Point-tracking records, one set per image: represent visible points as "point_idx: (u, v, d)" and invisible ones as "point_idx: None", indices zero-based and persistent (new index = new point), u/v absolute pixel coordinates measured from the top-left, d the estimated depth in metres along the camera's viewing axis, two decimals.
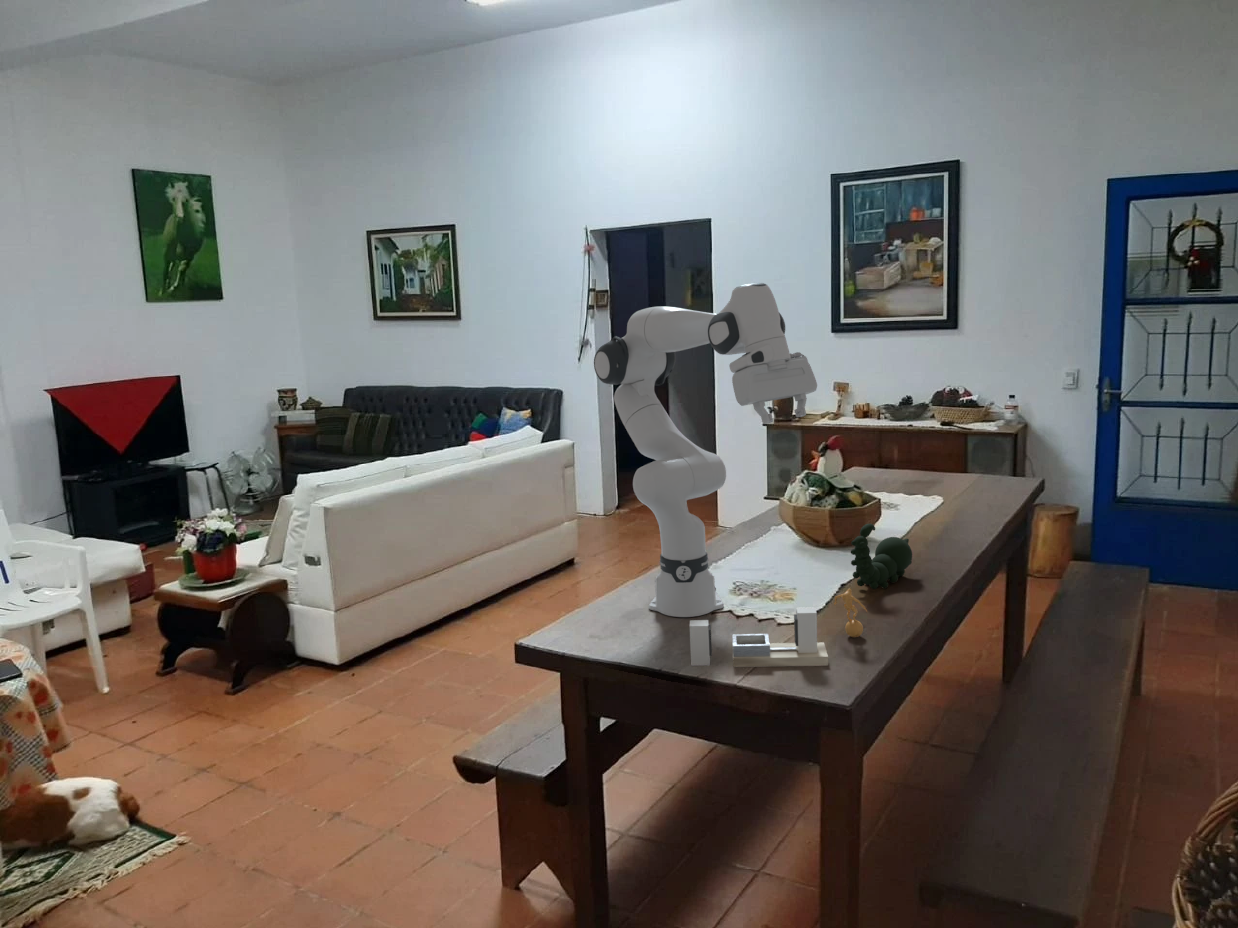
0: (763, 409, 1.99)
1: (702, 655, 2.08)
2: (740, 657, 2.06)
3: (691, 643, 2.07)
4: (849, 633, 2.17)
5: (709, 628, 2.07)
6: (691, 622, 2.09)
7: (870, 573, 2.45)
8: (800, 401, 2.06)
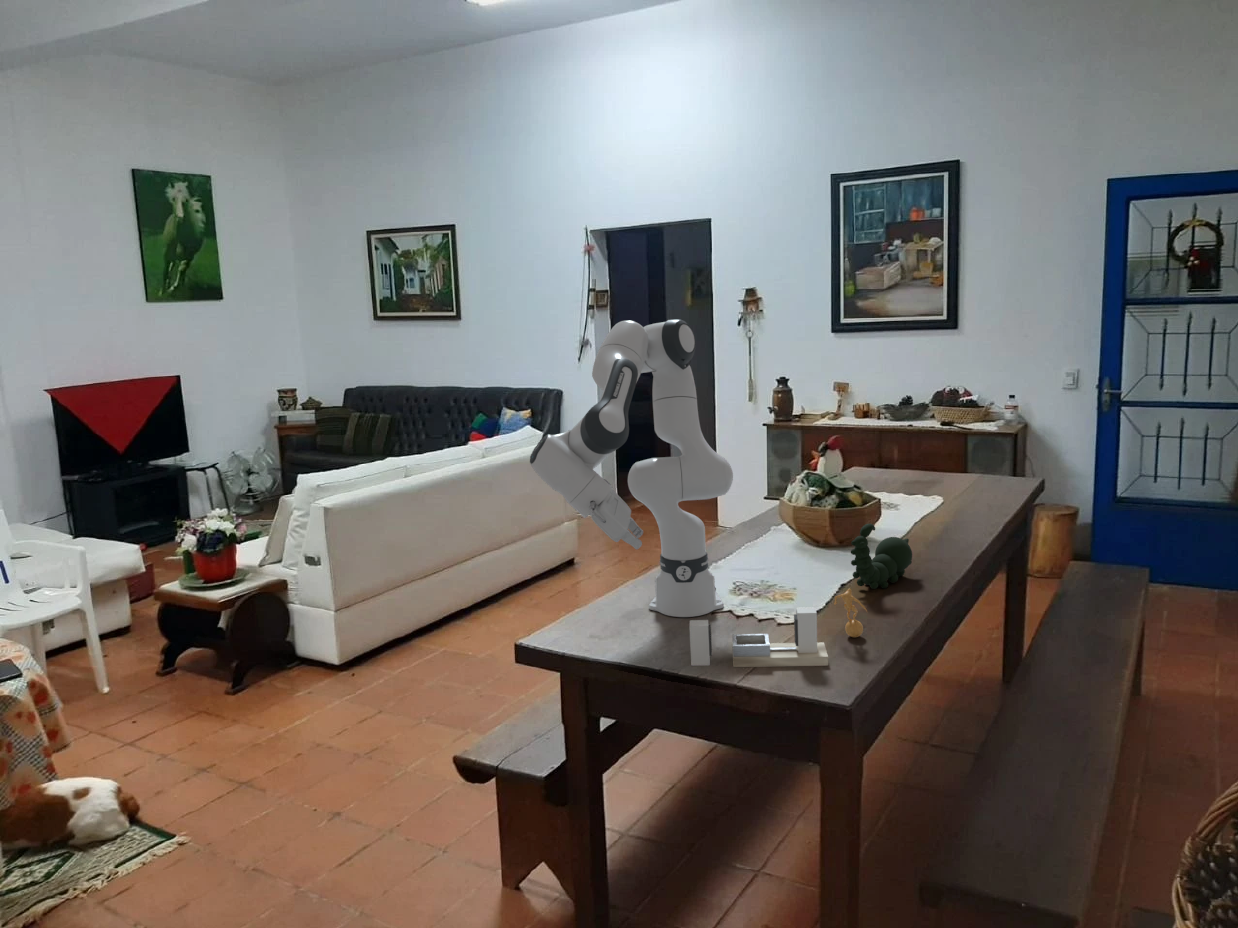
0: None
1: (702, 655, 2.08)
2: (740, 657, 2.06)
3: (691, 643, 2.07)
4: (849, 633, 2.17)
5: (709, 628, 2.07)
6: (691, 622, 2.09)
7: (870, 573, 2.45)
8: None
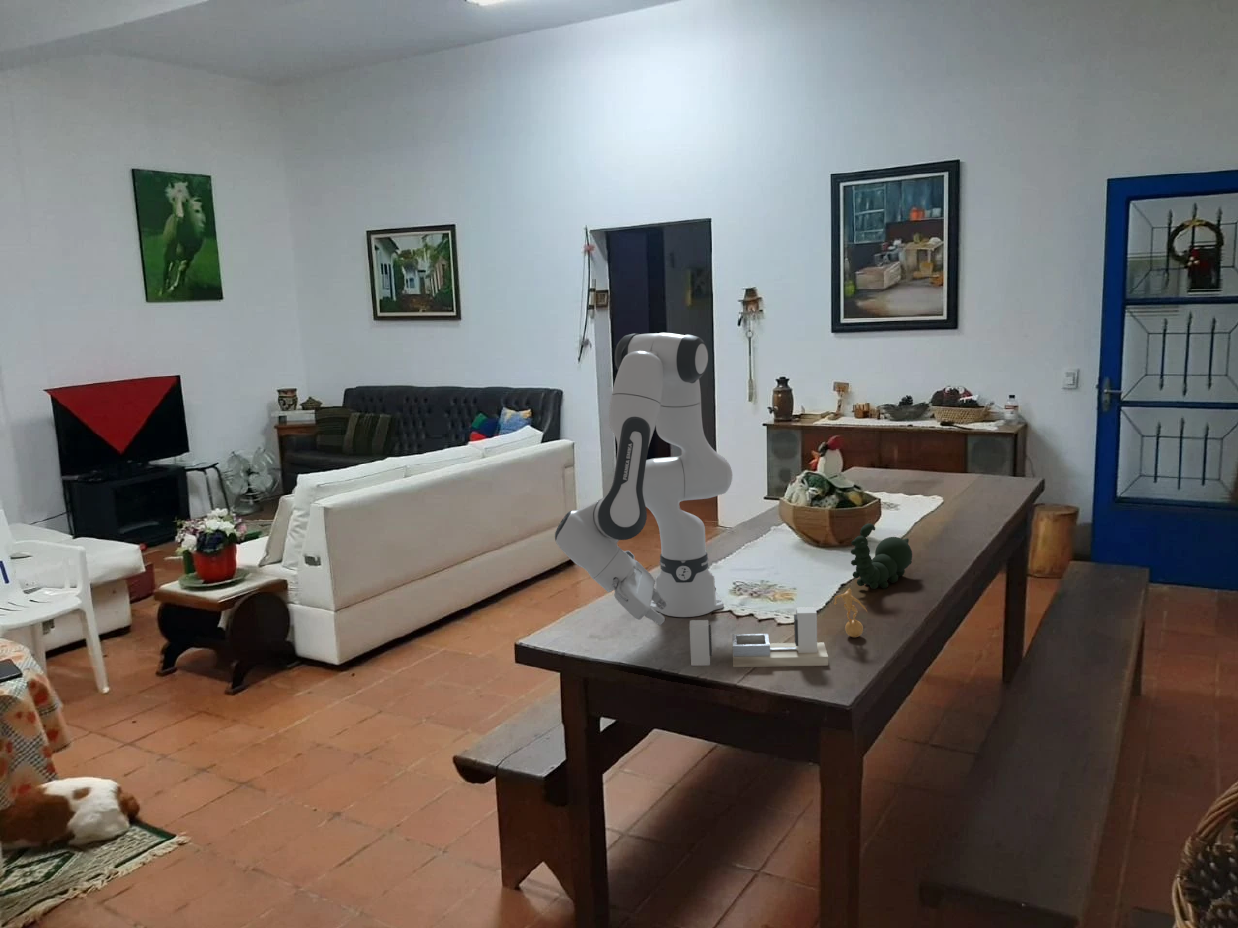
0: None
1: (702, 655, 2.08)
2: (740, 657, 2.06)
3: (691, 643, 2.07)
4: (849, 633, 2.17)
5: (709, 628, 2.07)
6: (691, 622, 2.09)
7: (870, 573, 2.45)
8: None
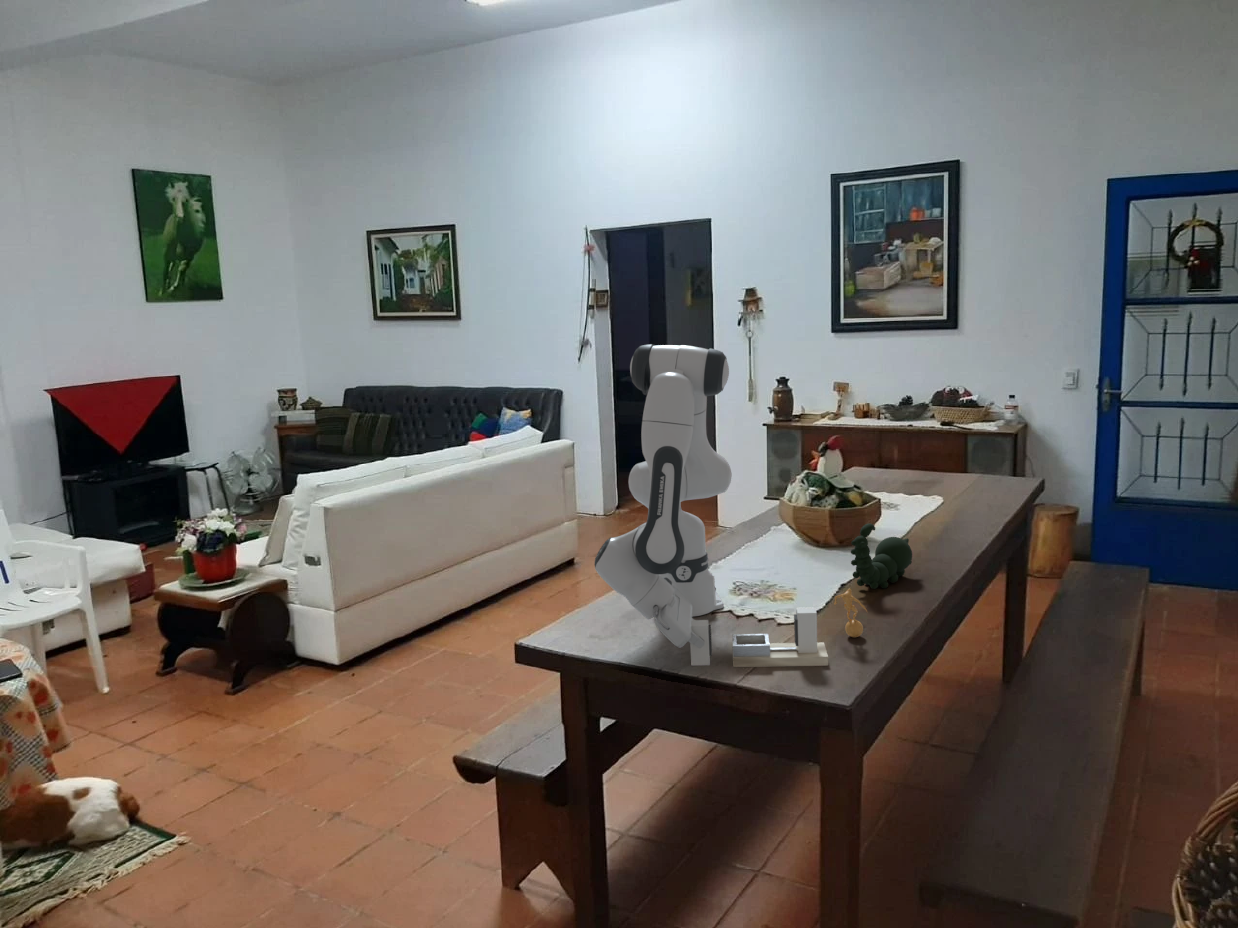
0: None
1: (702, 655, 2.08)
2: (740, 657, 2.06)
3: (691, 643, 2.07)
4: (849, 633, 2.17)
5: (709, 628, 2.07)
6: None
7: (870, 573, 2.45)
8: None
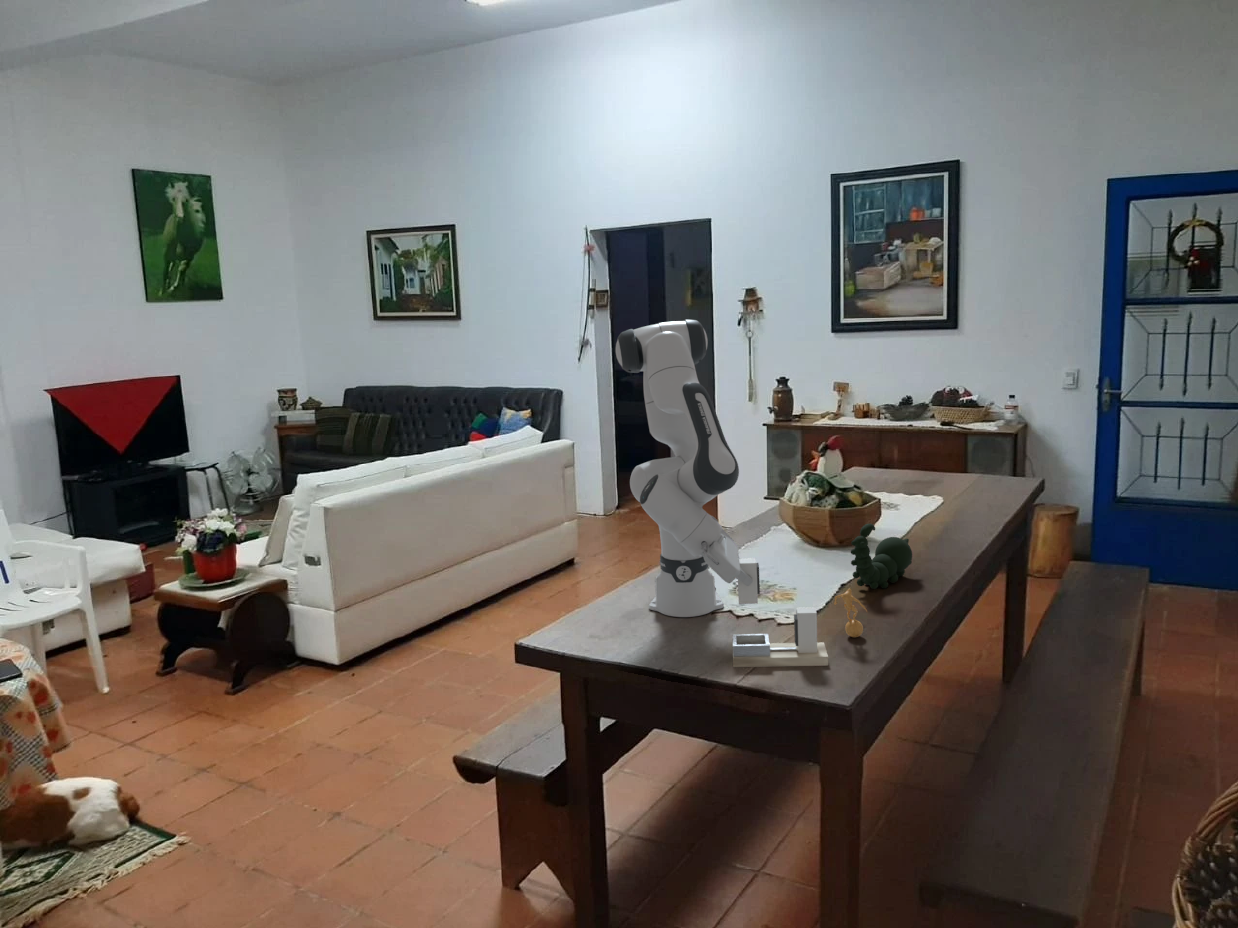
0: None
1: (750, 593, 2.05)
2: (740, 657, 2.06)
3: (739, 581, 2.05)
4: (849, 633, 2.17)
5: (757, 566, 2.05)
6: None
7: (870, 573, 2.45)
8: None
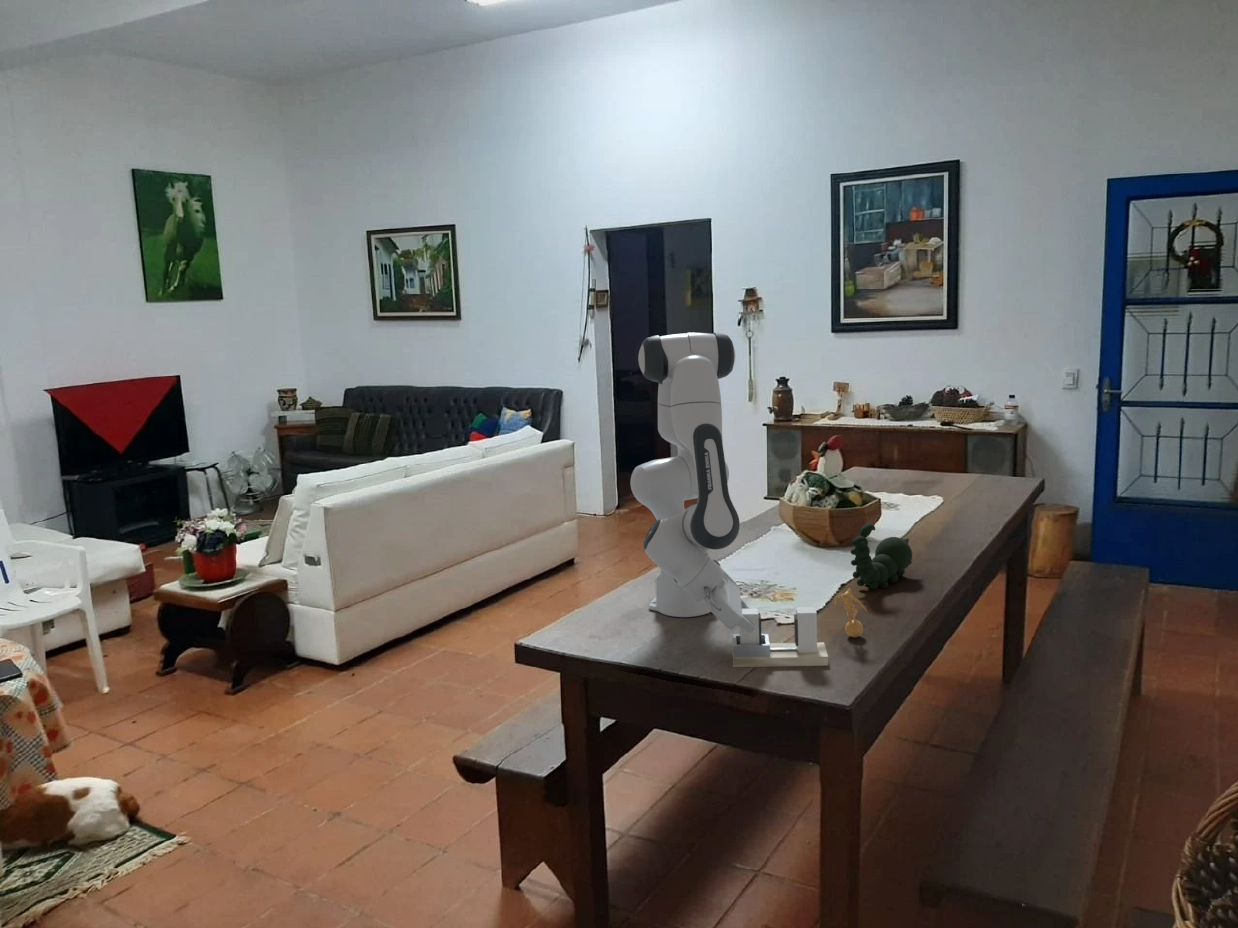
0: None
1: None
2: (740, 657, 2.06)
3: (741, 631, 2.07)
4: (849, 633, 2.17)
5: (759, 616, 2.07)
6: None
7: (870, 573, 2.45)
8: None
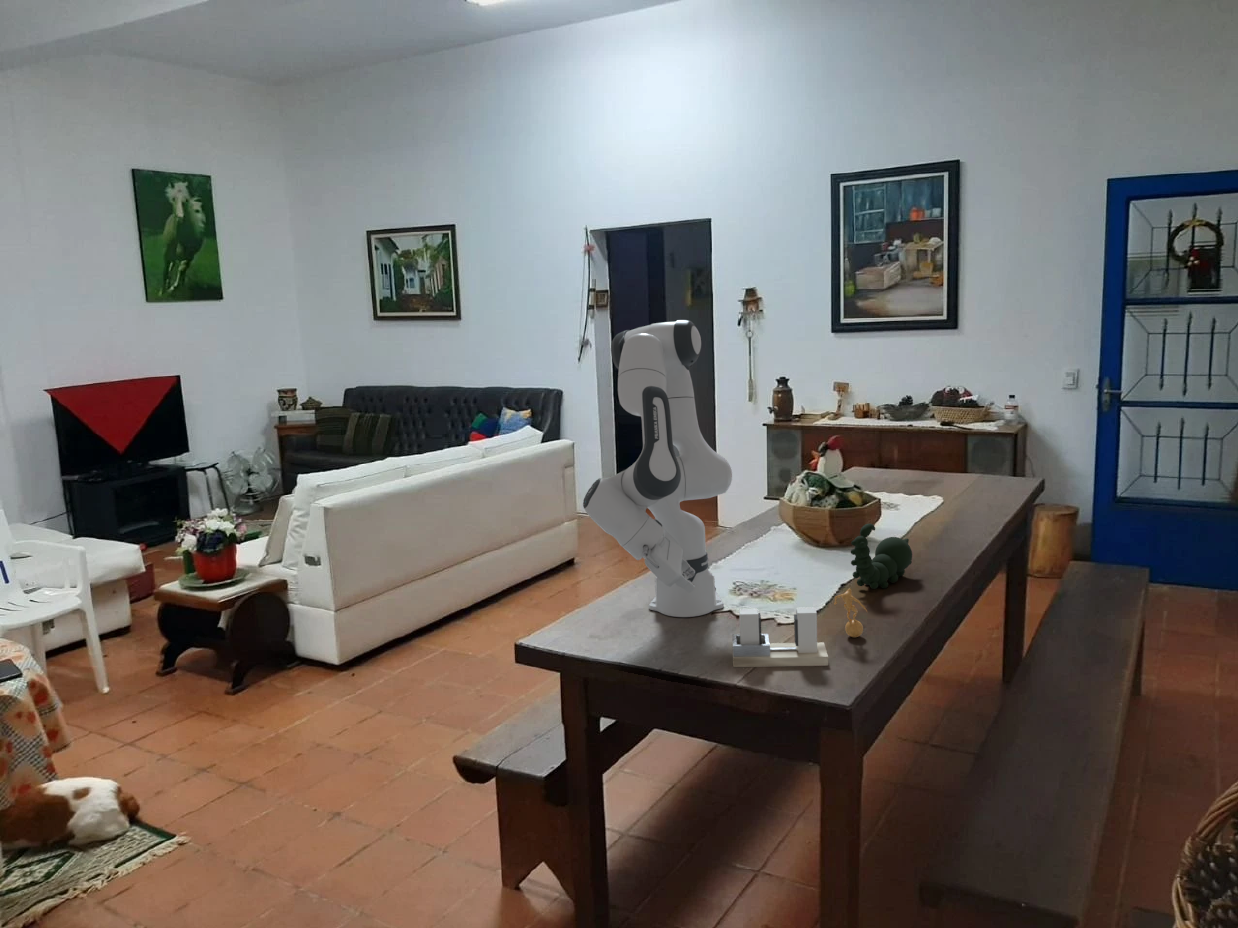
0: None
1: None
2: (740, 657, 2.06)
3: (741, 631, 2.07)
4: (849, 633, 2.17)
5: (759, 616, 2.07)
6: (741, 610, 2.08)
7: (870, 573, 2.45)
8: None
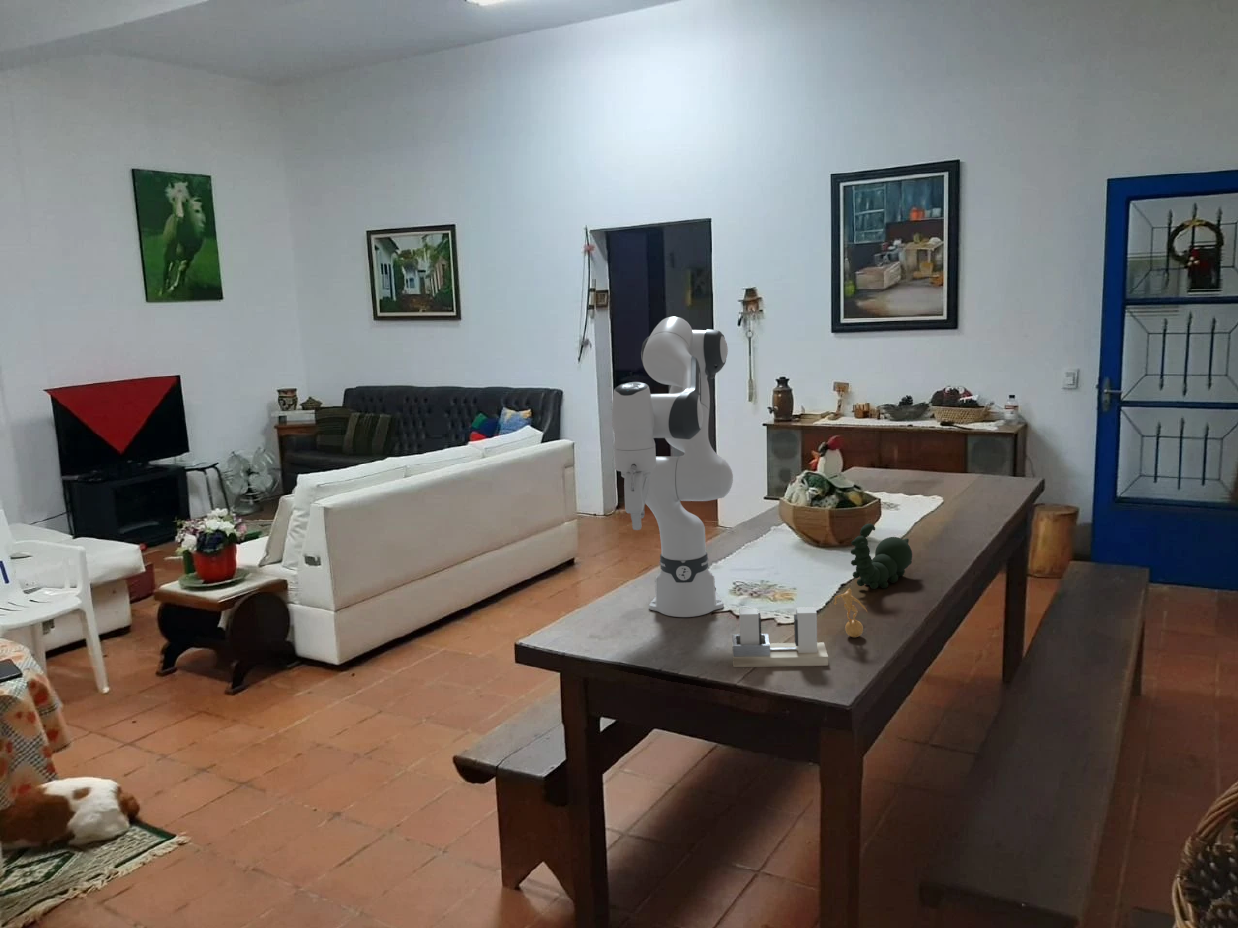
0: None
1: None
2: (740, 657, 2.06)
3: (741, 631, 2.07)
4: (849, 633, 2.17)
5: (759, 616, 2.07)
6: (741, 610, 2.08)
7: (870, 573, 2.45)
8: None
